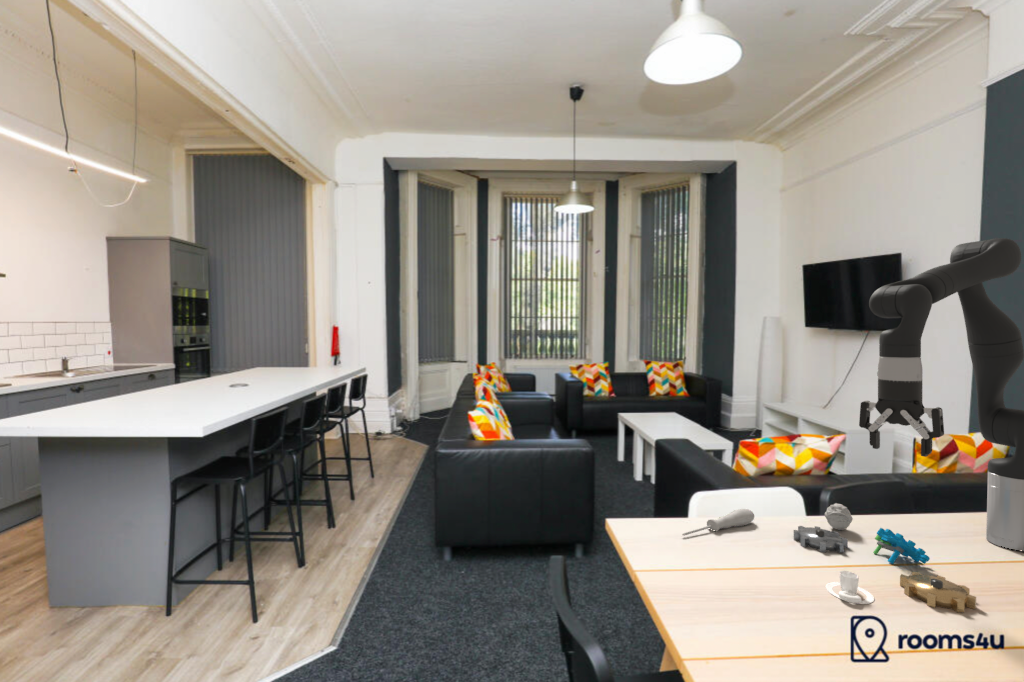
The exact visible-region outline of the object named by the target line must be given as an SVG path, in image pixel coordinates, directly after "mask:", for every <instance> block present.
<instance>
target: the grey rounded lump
mask: <svg viewBox="0 0 1024 682" xmlns="http://www.w3.org/2000/svg"><path fill="white" fill-rule="evenodd" d="M824 517H825V519H826V520H827V523H828V525H829V526H830V527H831V528H833V529H835V530H839V531H843V530H846V529H847V528H848V527H850V525H851V523H852V522H853V521H854V519H853V516H852V514H851V511H850V510H849V509H848V507H847V506H845V505H843V504H841V503H837V502H835V503H833V504H830V506H828V507H827V508H826V511H825V512H824Z"/></svg>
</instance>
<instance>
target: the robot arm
mask: <svg viewBox="0 0 1024 682" xmlns="http://www.w3.org/2000/svg"><path fill="white" fill-rule="evenodd" d="M1021 261H1022V251H1021V248H1020V246H1019V244H1018V243H1017V242H1016V241H1014V240H1013V239H1010V238H1007V237H1006V238H1004V237H1003V238H1002V237H997V238H991V239H984V240H979V241H977V240H976V241H971V242H965V243H964V242H963V243H959V244H957V245H955V246H954V247H953V248H952V251H951V252H950V257H949V263H947V264H942V265H938V266H936V267H933V268H930V269H928V270H925V271H923V272H921V273H919V274H917V275H915V276H913V277H910V278H907V279H903V280H899V281H896V282H891V283H888V284H885V285H882V286H881V287H879V288H877V289H876V290H874V292H873V293H872V294H871V296H870V298H869V300H868V306H869V309H870V311H871V313H873V315H875V316H877V318H883V319H901V321H900V323H899V325H898V326H897V327H894V328H890V329H886V330H883V331H881V332H880V333H879V338H878V340H879V341H878V343H879V345H878V346H879V347H878V349H879V351H878V352H879V358H878V364H877V372H876V374H877V402H872V401H870V400H864V401H861V402H860V408H859V409H860V410H859V421H858V422H859V423H858V426H859V427H860V428H863V429H866V430H867V431H868V432H869V445H870V446H872V449H876V450H878V449H880V447H881V431H879V429H881V428H882V426H884V425H885V424H886V423H888V424H890V425H898V424H899V425H901V426H905V427H906V426H911V427H912V429H914V431H916V432H917V433H918V434H919V435H920V437H921V438H920V456H921V457H925V458H927V457H928V456H929V455H930V454H932V452H933V439H937V438H940V437H942V436H944V435H945V428H944V427H945V426H944V413H943V408H942V407H939V406H937V407H935V408H934V407H925V406H924V404H923V363H922V336H923V332H924V330H925V327H926V324H927V320H928V318H929V315H930V313H931V310H932V306H933V304H935V303H938V302H940V301H942V300H944V299H946V298H948V297H950V296H951V295H955V294H957V295H958V300H959V302H960V305H961V308H962V315H963V319H964V325H965V329H966V337H967V344H968V345H967V346H968V350H969V355H970V356H969V357H970V360H971V364H972V369H973V373H974V375H973V376H974V380H975V387H976V401H977V404H976V405H977V418H978V419H977V421H978V426H979V432H980V435H981V436H982V438H983V439H984V440H985V441H986V442H988V443H992V444H995V445H1000V446H1004V447H1005V446H1007V447H1011V448H1015V450H1014V454H1013V455H1012V456H1009V457H1000V458H999V457H998V458H991V459H989V461H988V462H987V493H986V494H987V496H986V497H987V498H986V528H985V529H986V531H985V532H986V534H985V535H986V536H985V538H986V541H988V542H990V543H991V544H993V545H995V546H998V547H1001V546H1002V547H1001V548H1004V547H1005V548H1004V549H1007V548H1009V549H1008V550H1011V549H1015V550H1014V551H1016V550H1022V551H1024V409H1017V408H1009V407H1008V408H1007V407H1006V406H1005V399H1004V393H1005V388H1006V386H1007V384H1008V382H1009V381H1010V380H1011V379H1012V377H1013V376H1014V375H1015V373H1016V372H1018V369H1019V368H1020V366H1021V365H1022V363H1023V361H1024V346H1023V339H1022V333H1021V331H1020V328H1019V327H1018V325H1017V324H1016V323H1015V321H1014V320H1012V319H1011V317H1009V316H1008V315H1007V314H1006V313H1005V312H1003V310H1001V309H1000V307H998V306H997V305H996V304H995V303H994V302H993V301H992V300H991V298H990V297H989V296H988V294H987V292H986V289H985V287H984V284H983V283H985V282H988V281H991V280H995V279H1000V278H1005V277H1009V276H1010V275H1012V274H1013V273H1015V272H1016V271H1017V270H1018V268H1019V267H1020V265H1021V263H1022V262H1021ZM874 409H875V410H877V412H878V413H879V415H880V416H878V418H876V419H875V420H874V422H873V423H870V421H871V412H873V411H874ZM924 414H927V417H928V418H929V419H931V424H932V431H931V430H930V429H929V428H928V426H927V425H926V423H925V422H924V421H923V420H922V419H921V417H922V416H923V415H924ZM1022 551H1021V552H1022Z"/></svg>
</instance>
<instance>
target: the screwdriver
mask: <svg viewBox="0 0 1024 682" xmlns="http://www.w3.org/2000/svg"><path fill="white" fill-rule="evenodd" d="M754 519H755V514H754V512H753V511H752V510H750V509H749V508H738V509H733V510H732V511H730V512H729V513H728V514H725V515H723V516H720V517H719V518H717V519H708V520H707V521H706V526H703V527H699V528H697V529H693V530H689V531H686V532H684V533H682V534H681V535H682V536H683V537H684V536H688V535H691V534H694V533H697V532H700V531H701V532H702V531H704V530H710V529H712V530H715V531H717V532H719V530H720V528H721V529H728V527H729V528H732V527H731V526H734V527H744V525H745V526H747V525H749V524H750V523H753V521H754ZM708 528H710V529H708Z"/></svg>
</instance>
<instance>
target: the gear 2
mask: <svg viewBox="0 0 1024 682" xmlns="http://www.w3.org/2000/svg"><path fill="white" fill-rule="evenodd" d="M874 539H875V540H876V545H877V546H876V547H875V549H874V551H873V552H872V553H873V554H874V555H876V556H877V555H878V554H879V552H880V551H881V549H885V550H887V551H890V552H892V554H891V556H890V557H889V559H888V560H887V562H888V563H889V564H892V565H893V564H894V563H895V562H896V560H897V559H898V557H899V556H900V555H901V556H903V557H905V558H911V559H912V560H913V561H914V562H916V563H919V562H921V563H923V564H924V565H925V564H926V563H928V562H929V561H930V560H931V558H930V556H929V555H928V554H926V553H927V552H926V551H925V550H924V549H923V548H920V547H918V548H916V547H915V546H916V545H917V543H916V542H915V541H912V540H910V539H908V541H907V540H906V539H905V538H904V535H903V534H901V533H899V532H896V533H894V532H893V531H892V530H891V529H890V528H885V529H884V528H883V527H880V528H879V530H877V532H876V536H875V537H874Z"/></svg>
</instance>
